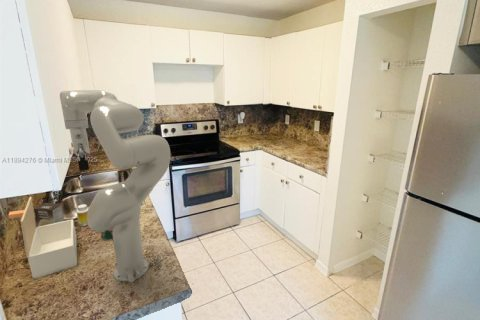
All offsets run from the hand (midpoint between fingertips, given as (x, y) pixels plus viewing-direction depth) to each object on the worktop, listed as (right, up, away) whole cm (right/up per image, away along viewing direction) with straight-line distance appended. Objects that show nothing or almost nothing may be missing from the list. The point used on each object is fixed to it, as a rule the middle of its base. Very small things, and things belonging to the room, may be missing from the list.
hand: (83, 166), depth 103 cm
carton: (-15, -38, +6) cm, 41 cm away
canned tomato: (0, -34, +21) cm, 40 cm away
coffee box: (-26, -34, +20) cm, 47 cm away
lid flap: (-20, -22, -2) cm, 30 cm away
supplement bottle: (-18, -31, +32) cm, 48 cm away
